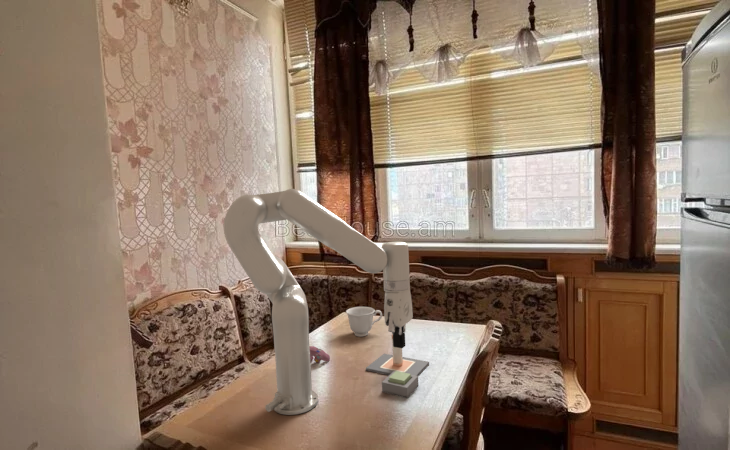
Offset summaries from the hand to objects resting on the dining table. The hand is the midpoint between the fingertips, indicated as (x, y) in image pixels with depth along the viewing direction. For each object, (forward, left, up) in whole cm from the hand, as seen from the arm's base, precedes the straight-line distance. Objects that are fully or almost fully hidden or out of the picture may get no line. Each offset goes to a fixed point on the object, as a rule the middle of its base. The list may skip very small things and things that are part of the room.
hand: (399, 346), depth 115 cm
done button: (0, 0, -11) cm, 11 cm away
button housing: (0, 0, -13) cm, 13 cm away
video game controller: (+5, +36, -13) cm, 38 cm away
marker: (+13, +7, -12) cm, 19 cm away
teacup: (+36, +33, -13) cm, 51 cm away
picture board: (+13, +7, -13) cm, 20 cm away
